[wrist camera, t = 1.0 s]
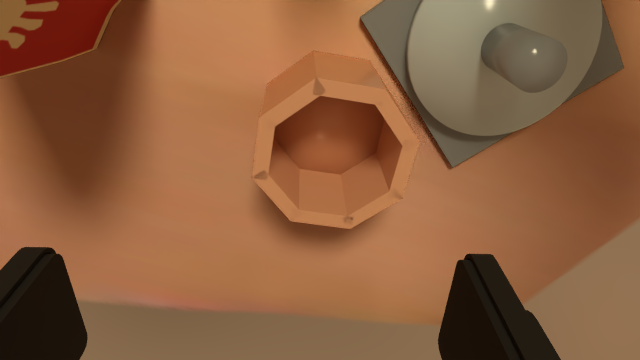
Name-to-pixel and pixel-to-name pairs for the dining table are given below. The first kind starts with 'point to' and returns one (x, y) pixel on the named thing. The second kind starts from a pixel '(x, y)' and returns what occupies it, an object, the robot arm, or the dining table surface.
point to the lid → (499, 59)
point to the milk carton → (49, 31)
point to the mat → (390, 36)
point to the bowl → (332, 142)
